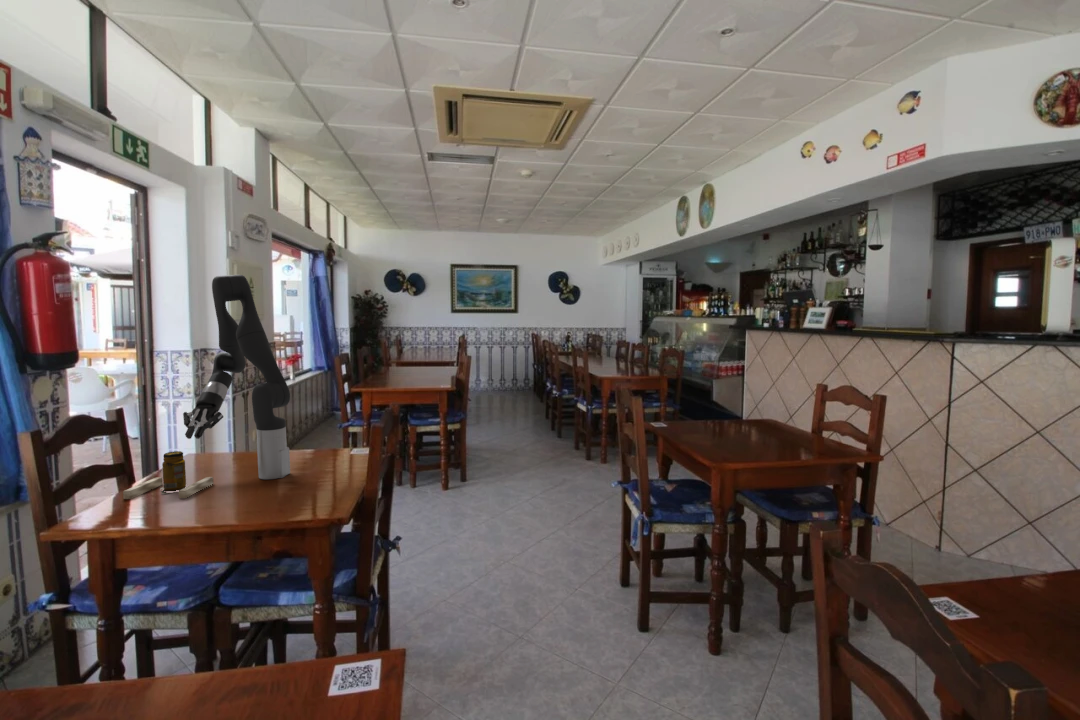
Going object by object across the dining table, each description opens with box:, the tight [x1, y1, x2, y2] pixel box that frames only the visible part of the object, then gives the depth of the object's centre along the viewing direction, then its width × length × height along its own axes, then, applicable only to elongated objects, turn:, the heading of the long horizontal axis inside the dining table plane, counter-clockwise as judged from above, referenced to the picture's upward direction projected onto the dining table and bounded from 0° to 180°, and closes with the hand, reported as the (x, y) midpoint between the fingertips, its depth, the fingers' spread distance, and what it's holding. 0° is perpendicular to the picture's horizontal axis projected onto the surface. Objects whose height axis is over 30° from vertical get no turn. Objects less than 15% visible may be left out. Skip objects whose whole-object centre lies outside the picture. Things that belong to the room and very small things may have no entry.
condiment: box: [159, 450, 187, 495], centre depth 167 cm, size 7×8×12 cm
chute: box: [122, 476, 214, 500], centre depth 166 cm, size 14×19×2 cm
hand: (192, 437), depth 176 cm, fingers open, 2 cm apart
